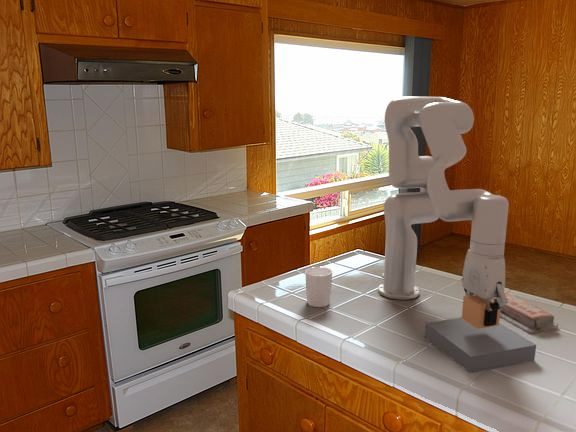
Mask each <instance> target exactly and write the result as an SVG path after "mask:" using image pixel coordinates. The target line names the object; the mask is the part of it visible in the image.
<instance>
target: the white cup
mask: <svg viewBox="0 0 576 432" xmlns="http://www.w3.org/2000/svg"><path fill="white" fill-rule="evenodd" d="M332 279H333V270H332V269H330V268H328V267H323V266H313V267H308V268H306V269H305V292H306V302H307V304H308V306H309V307H313V308H325V307H328V306H329V305H330V303H331V301H330V300H331V293H332V284H333V283H332V282H333V281H332Z"/></svg>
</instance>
